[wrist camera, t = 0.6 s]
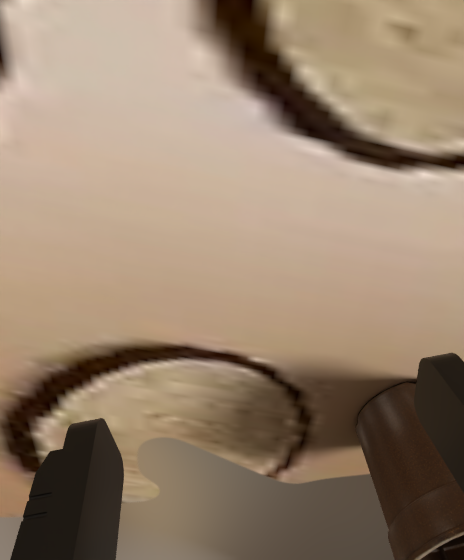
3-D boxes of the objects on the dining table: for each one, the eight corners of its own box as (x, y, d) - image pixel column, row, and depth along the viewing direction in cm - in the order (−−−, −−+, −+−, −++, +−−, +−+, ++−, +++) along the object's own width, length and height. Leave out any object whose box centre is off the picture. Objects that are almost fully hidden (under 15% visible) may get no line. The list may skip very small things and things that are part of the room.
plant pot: (412, 345, 43) (518, 501, 30) (498, 390, 50) (615, 535, 37) (311, 432, 50) (362, 591, 37) (398, 462, 57) (467, 605, 44)
